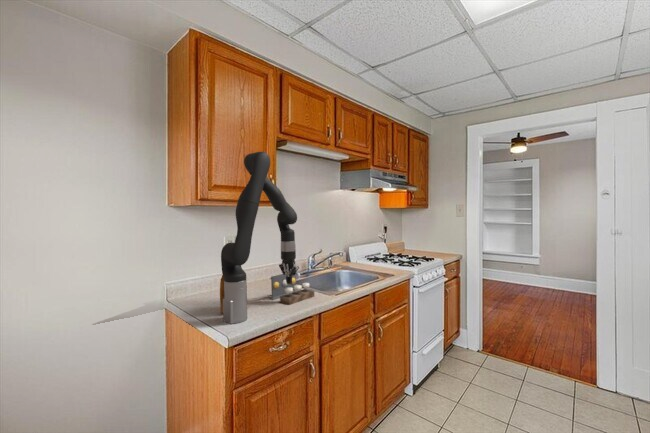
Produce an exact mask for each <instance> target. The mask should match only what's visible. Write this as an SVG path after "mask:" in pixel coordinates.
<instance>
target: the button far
mask: <svg viewBox="0 0 650 433" xmlns="http://www.w3.org/2000/svg"><path fill="white" fill-rule="evenodd" d="M309 288H310V282H302V283H301V289H309Z"/></svg>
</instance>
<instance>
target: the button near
mask: <svg viewBox="0 0 650 433" xmlns="http://www.w3.org/2000/svg"><path fill="white" fill-rule="evenodd" d="M285 293H293V288H292V287H287V288H285Z"/></svg>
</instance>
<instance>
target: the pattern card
mask: <svg viewBox="0 0 650 433" xmlns="http://www.w3.org/2000/svg"><path fill="white" fill-rule="evenodd" d="M270 279H271V284H270V285H271V296H269V300H272V301H274V300H275V301H276V300H277V299H280V296H283V295H286V294H289V293H285V288H287V287H292V288H293V292H296V291H295V290H294V285H297V273H296V274H295V275H293V276H292V283H291V284H287V282H286V276H285V275H283V273H282V274H281V273H280V274H276V275H272V276H271V277H270Z"/></svg>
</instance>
